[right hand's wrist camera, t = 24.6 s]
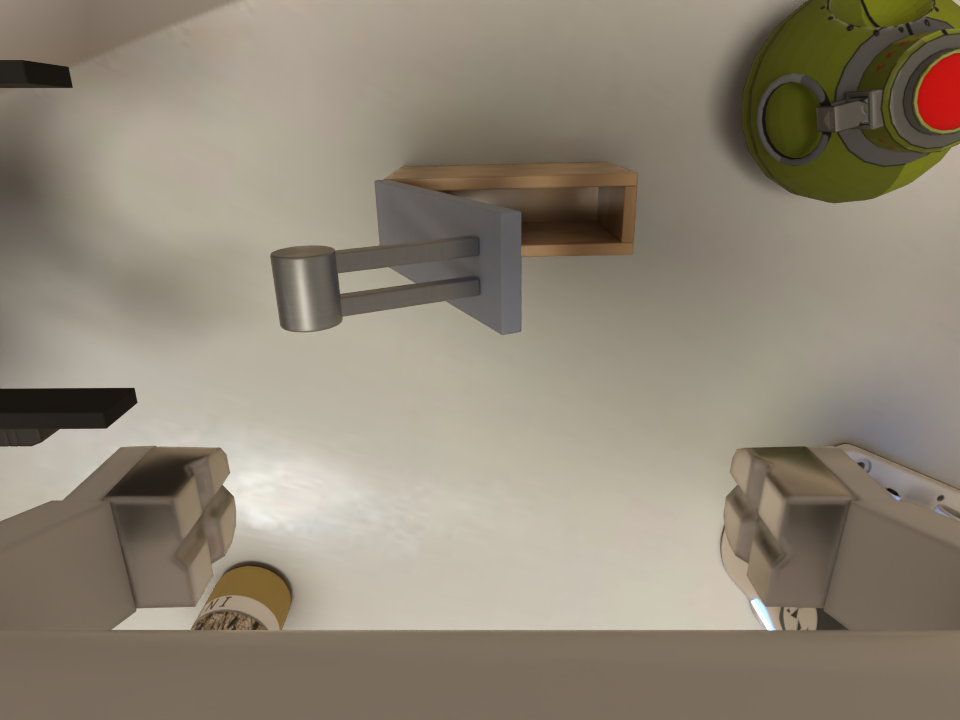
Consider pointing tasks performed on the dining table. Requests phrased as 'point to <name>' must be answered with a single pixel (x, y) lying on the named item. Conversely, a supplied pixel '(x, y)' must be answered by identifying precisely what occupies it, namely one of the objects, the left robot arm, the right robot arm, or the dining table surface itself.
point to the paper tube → (246, 602)
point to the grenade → (855, 96)
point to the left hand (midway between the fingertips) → (89, 256)
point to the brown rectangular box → (547, 202)
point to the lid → (411, 263)
